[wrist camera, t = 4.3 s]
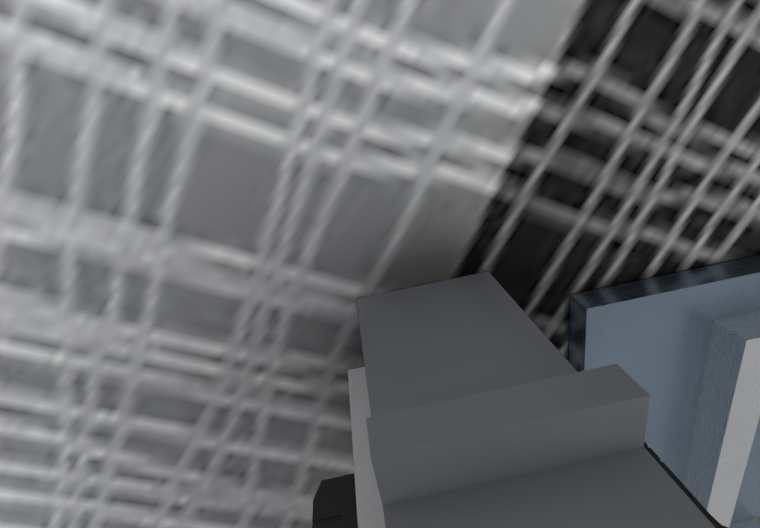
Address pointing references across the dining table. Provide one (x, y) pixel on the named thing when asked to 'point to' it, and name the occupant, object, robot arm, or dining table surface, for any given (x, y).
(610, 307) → the plate
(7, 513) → the dining table surface
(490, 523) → the servo
